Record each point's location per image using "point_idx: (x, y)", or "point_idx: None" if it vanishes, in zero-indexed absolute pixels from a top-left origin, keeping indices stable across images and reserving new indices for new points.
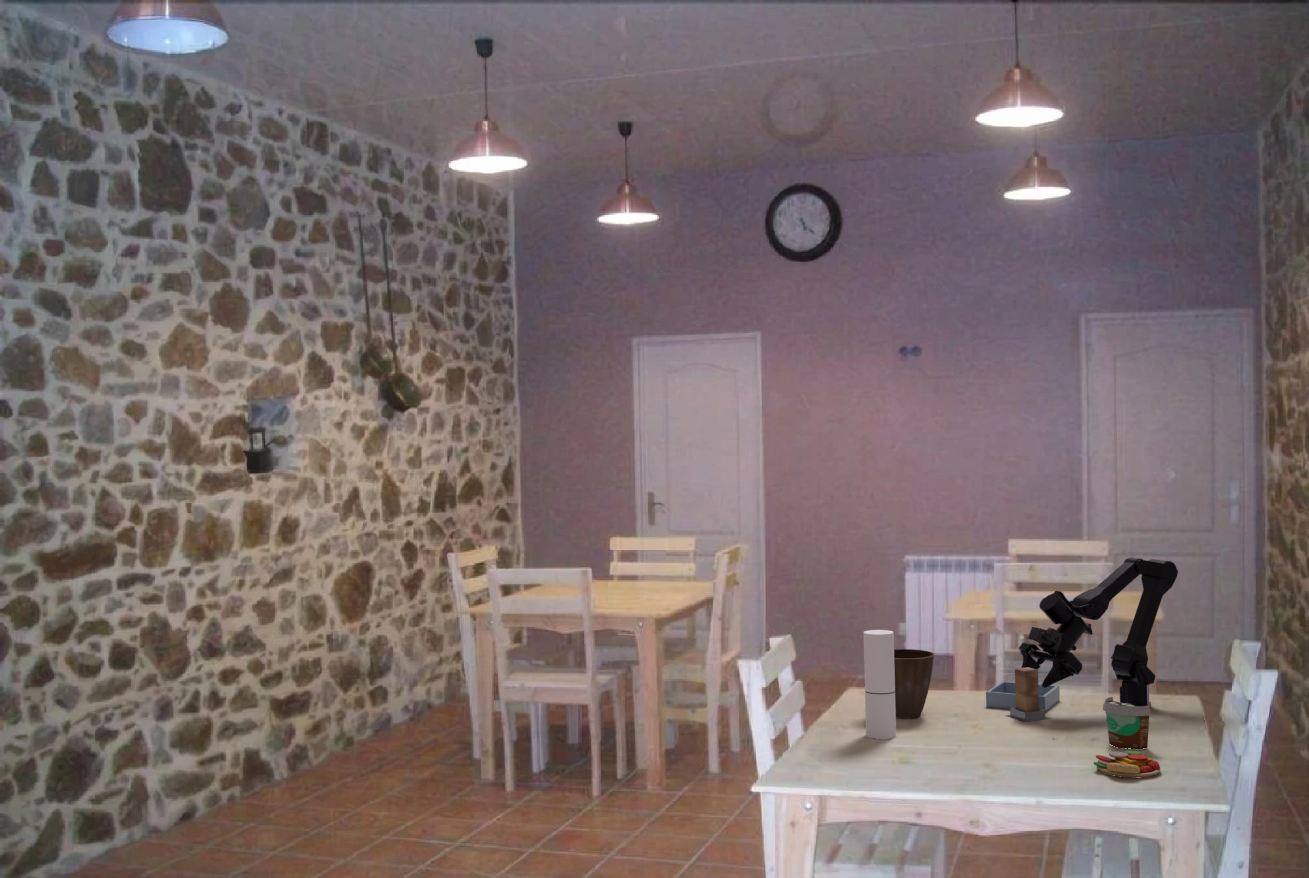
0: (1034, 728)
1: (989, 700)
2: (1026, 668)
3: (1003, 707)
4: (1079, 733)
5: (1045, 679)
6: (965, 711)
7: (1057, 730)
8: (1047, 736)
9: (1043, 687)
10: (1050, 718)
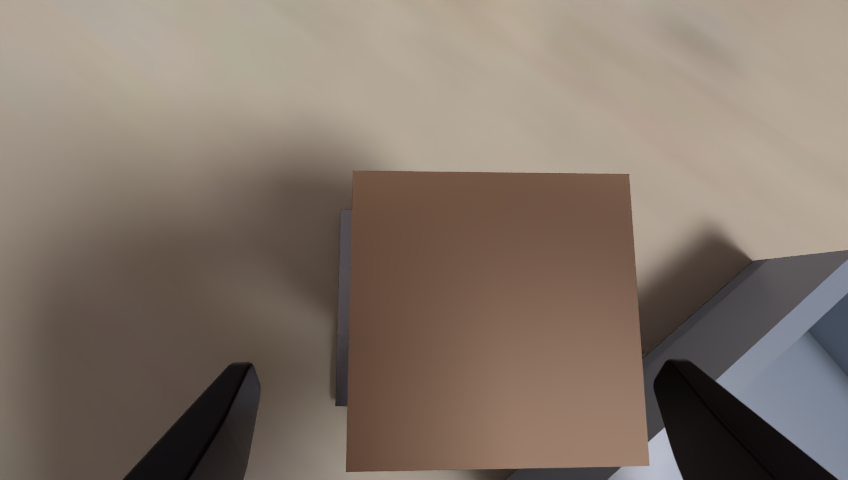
0: (240, 201)
1: (786, 269)
2: (558, 363)
3: (696, 325)
4: (7, 345)
5: (193, 428)
6: (746, 130)
7: (134, 281)
8: (58, 146)
9: (256, 381)
10: (338, 404)
